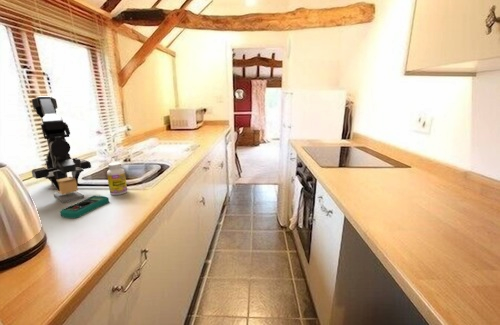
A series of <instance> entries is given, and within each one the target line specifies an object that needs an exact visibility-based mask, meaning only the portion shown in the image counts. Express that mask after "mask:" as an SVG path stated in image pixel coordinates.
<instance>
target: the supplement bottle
mask: <svg viewBox="0 0 500 325" xmlns="http://www.w3.org/2000/svg"><path fill="white" fill-rule="evenodd" d="M106 177H107V182H108V188H109V193H110V195H112V196H121V195H124V194H126V193H127V192H128V186H127V178H126V172H125V169H124V168H122V163H121V162H118V161H117V162H116V161H115V162H110V163H108V170H107V171H106Z"/></svg>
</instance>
